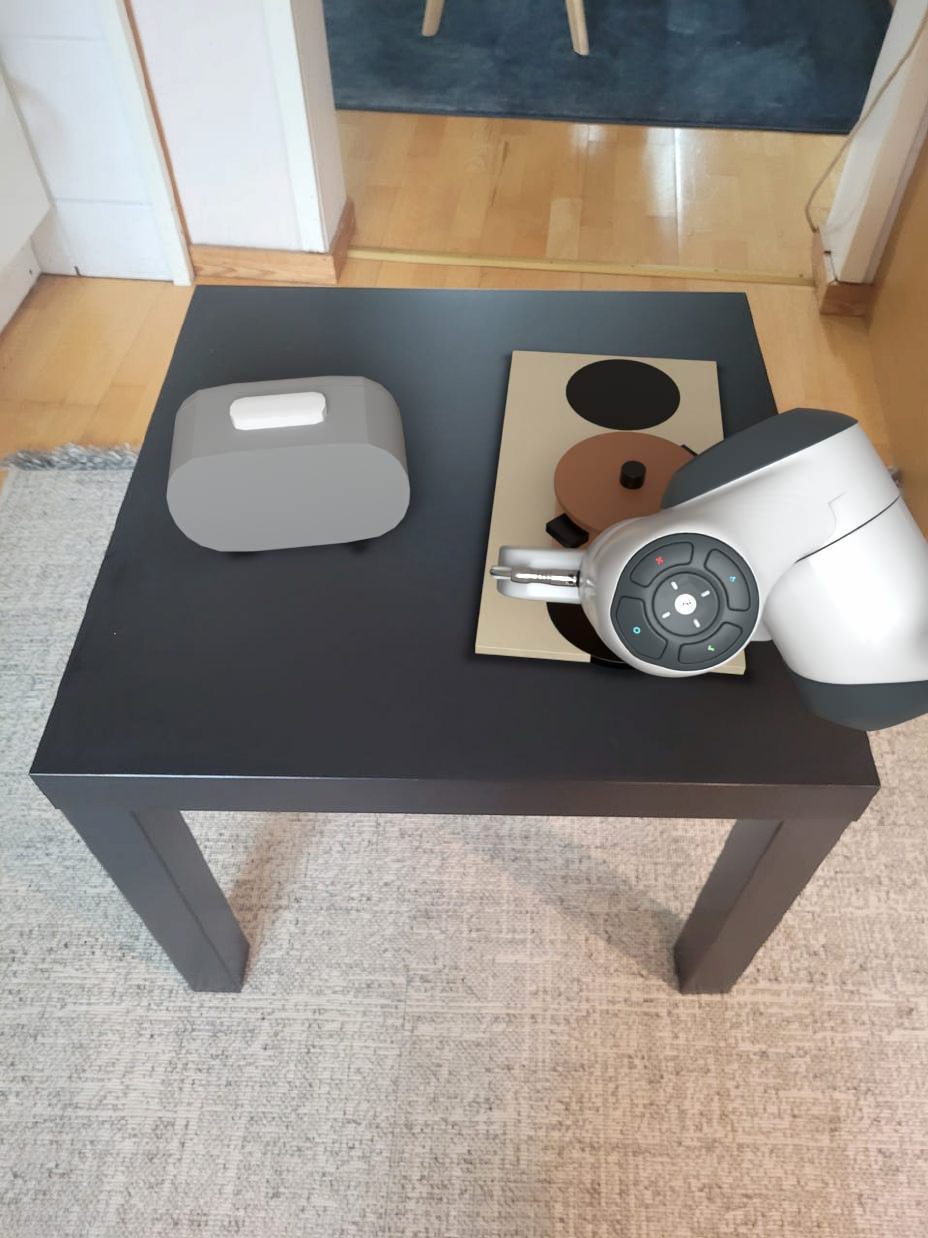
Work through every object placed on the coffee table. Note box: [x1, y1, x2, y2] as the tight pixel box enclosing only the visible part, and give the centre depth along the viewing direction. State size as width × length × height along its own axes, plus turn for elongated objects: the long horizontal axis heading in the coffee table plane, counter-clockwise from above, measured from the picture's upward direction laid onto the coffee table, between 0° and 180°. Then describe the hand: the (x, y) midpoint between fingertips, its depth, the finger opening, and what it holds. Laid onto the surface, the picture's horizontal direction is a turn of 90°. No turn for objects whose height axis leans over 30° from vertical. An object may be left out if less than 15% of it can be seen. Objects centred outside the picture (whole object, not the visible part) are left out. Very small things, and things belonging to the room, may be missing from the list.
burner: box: [566, 359, 680, 431], centre depth 98 cm, size 12×12×1 cm
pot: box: [546, 432, 698, 549], centre depth 79 cm, size 16×13×11 cm
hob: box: [474, 349, 747, 675], centre depth 90 cm, size 22×41×1 cm, turn 174°
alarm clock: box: [166, 375, 411, 552], centre depth 83 cm, size 21×10×13 cm, turn 97°
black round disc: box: [546, 602, 637, 671], centre depth 80 cm, size 13×13×1 cm
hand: (625, 573), depth 75 cm, fingers closed, pressing on pot
